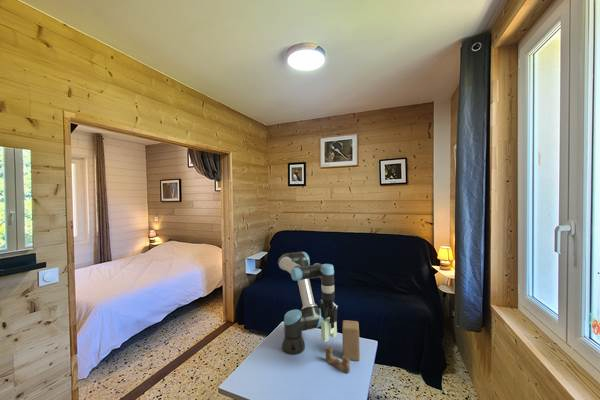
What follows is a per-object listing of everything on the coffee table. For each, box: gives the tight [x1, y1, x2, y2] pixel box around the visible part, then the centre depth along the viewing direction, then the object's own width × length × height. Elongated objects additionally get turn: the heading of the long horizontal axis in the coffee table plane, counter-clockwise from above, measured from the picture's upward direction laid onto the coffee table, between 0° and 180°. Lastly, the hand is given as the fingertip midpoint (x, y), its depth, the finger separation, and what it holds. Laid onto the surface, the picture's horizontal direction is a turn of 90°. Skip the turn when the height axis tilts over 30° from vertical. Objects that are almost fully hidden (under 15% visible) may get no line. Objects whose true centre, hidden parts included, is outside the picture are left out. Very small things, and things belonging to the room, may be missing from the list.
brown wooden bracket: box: [325, 346, 351, 375], centre depth 146 cm, size 16×2×8 cm, turn 43°
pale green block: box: [320, 316, 338, 343], centre depth 144 cm, size 10×3×11 cm, turn 130°
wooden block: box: [342, 319, 361, 362], centre depth 155 cm, size 10×10×20 cm
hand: (329, 331), depth 144 cm, fingers closed on pale green block, 3 cm apart
